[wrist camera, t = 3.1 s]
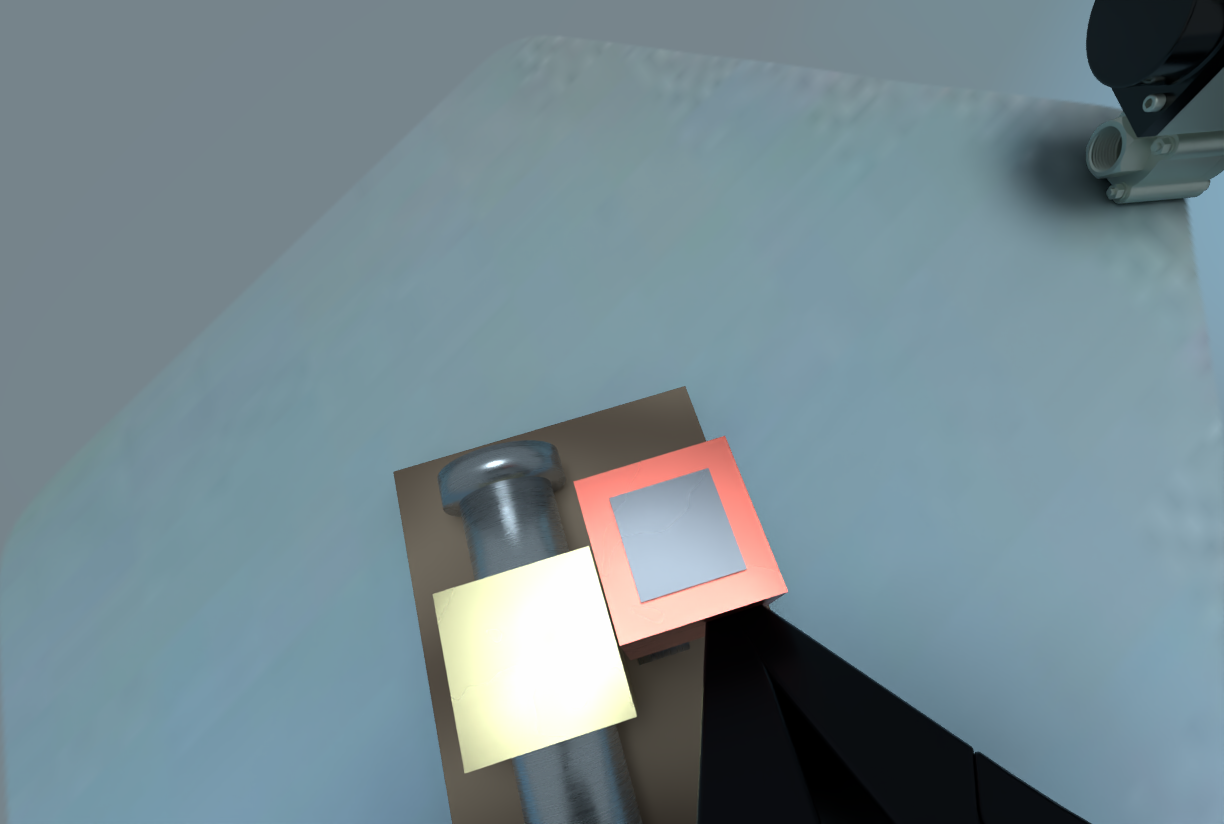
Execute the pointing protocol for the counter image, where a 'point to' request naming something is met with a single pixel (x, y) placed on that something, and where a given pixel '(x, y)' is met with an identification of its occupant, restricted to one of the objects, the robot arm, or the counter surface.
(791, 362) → the counter surface
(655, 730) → the mounting board
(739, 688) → the robot arm
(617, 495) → the lever
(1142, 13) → the pneumatic valve
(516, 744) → the valve body
